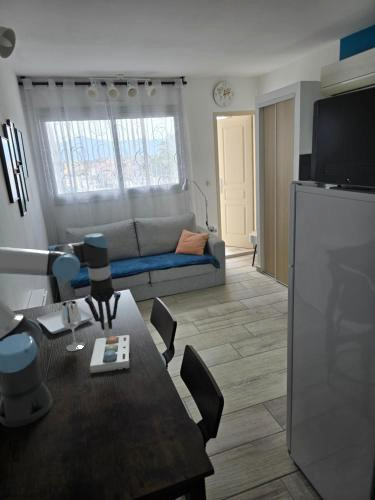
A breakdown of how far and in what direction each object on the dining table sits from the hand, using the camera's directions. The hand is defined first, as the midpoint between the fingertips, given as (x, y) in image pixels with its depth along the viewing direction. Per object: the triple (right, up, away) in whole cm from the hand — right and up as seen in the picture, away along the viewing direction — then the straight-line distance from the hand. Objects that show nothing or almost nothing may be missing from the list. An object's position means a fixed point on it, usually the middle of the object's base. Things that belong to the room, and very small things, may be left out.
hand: (108, 336), depth 121 cm
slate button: (0, -10, +2) cm, 10 cm away
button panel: (-1, -10, +9) cm, 14 cm away
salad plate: (-31, -4, +40) cm, 51 cm away
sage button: (-1, -9, +9) cm, 13 cm away
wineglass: (-18, -9, +18) cm, 27 cm away
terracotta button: (-2, -8, +15) cm, 17 cm away
